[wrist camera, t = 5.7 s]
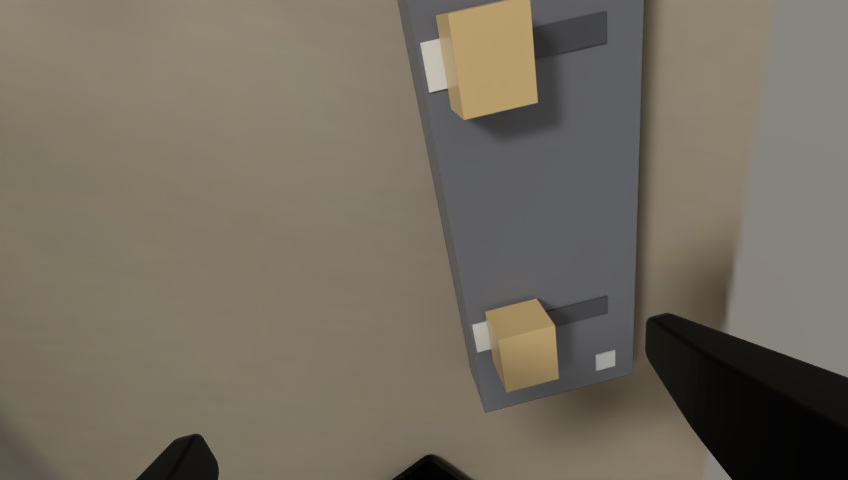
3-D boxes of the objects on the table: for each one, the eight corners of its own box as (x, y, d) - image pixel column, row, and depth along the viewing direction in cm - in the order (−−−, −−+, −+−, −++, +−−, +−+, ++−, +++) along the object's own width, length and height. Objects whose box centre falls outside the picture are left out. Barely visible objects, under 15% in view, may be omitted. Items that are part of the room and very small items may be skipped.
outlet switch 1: (516, 93, 16) (537, 102, 14) (451, 109, 15) (464, 120, 14) (507, -1, 14) (529, -5, 12) (435, 15, 14) (447, 13, 12)
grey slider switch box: (603, 337, 26) (633, 375, 23) (471, 372, 25) (486, 414, 23) (598, -135, 16) (651, -169, 13) (380, -88, 15) (386, -114, 13)
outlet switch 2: (541, 349, 21) (558, 378, 19) (493, 361, 21) (506, 392, 19) (536, 298, 20) (555, 325, 18) (484, 311, 20) (498, 340, 18)
